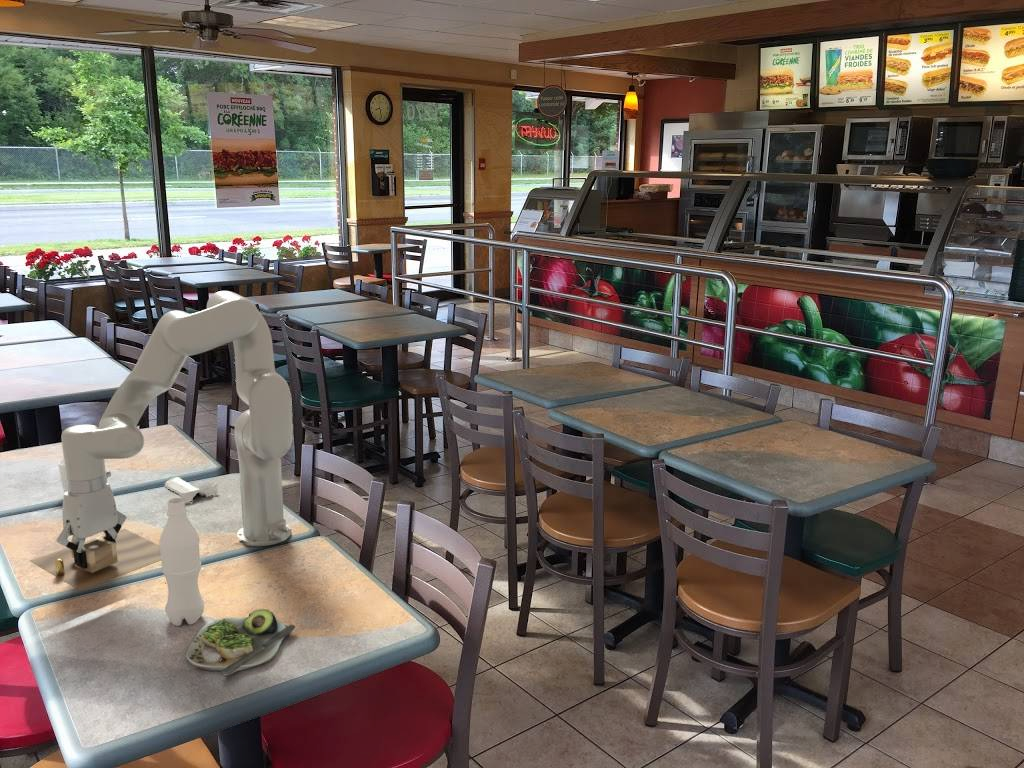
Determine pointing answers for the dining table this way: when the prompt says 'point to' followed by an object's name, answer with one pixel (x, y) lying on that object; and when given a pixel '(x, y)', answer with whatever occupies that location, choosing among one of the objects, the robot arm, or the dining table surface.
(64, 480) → the white cup
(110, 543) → the square frame with tab
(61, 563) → the dowel pin
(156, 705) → the dining table surface
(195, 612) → the water bottle
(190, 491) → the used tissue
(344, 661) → the dining table surface
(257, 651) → the avocado toast plate
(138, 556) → the board
